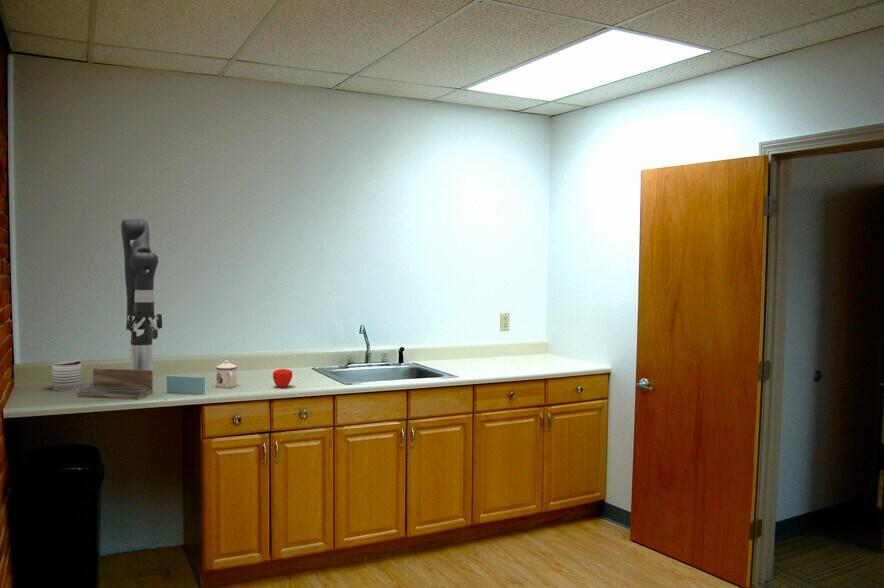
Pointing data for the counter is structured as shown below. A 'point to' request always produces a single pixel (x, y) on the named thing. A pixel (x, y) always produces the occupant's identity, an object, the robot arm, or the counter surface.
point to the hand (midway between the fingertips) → (144, 339)
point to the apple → (282, 377)
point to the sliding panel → (185, 384)
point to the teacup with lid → (226, 375)
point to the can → (66, 375)
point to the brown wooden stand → (119, 384)
